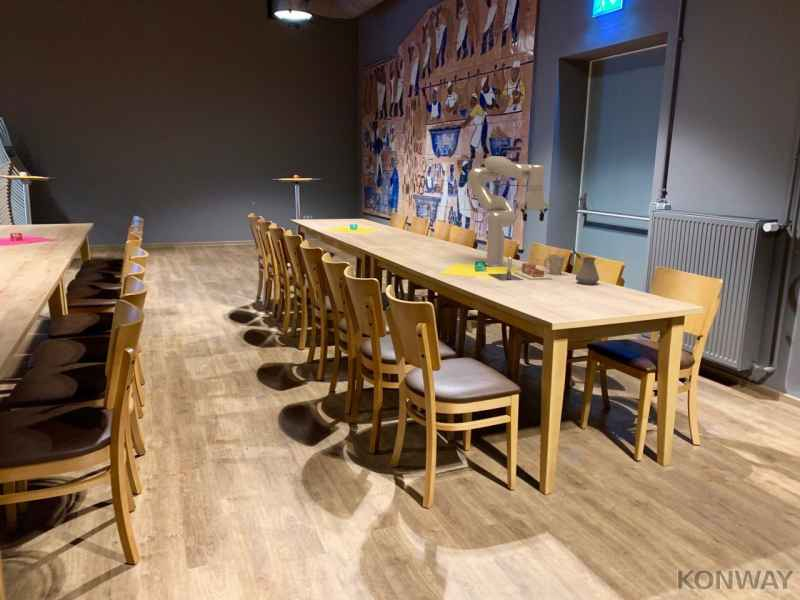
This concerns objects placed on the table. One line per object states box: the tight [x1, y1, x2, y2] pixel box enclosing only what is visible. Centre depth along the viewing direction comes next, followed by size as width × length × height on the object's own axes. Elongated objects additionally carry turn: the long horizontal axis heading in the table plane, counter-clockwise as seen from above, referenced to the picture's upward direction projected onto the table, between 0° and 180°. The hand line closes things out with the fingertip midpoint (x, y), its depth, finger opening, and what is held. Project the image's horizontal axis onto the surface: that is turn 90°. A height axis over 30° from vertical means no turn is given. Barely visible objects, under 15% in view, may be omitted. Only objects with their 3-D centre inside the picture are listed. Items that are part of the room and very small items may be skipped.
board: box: [513, 270, 553, 281], centre depth 325 cm, size 20×12×2 cm, turn 15°
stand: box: [487, 256, 525, 282], centre depth 321 cm, size 18×13×12 cm
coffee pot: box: [571, 249, 600, 286], centre depth 318 cm, size 21×12×15 cm, turn 17°
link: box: [521, 262, 545, 277], centre depth 324 cm, size 14×6×5 cm, turn 14°
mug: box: [543, 254, 565, 276], centre depth 340 cm, size 8×13×10 cm, turn 39°
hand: (533, 220), depth 335 cm, fingers open, 9 cm apart
